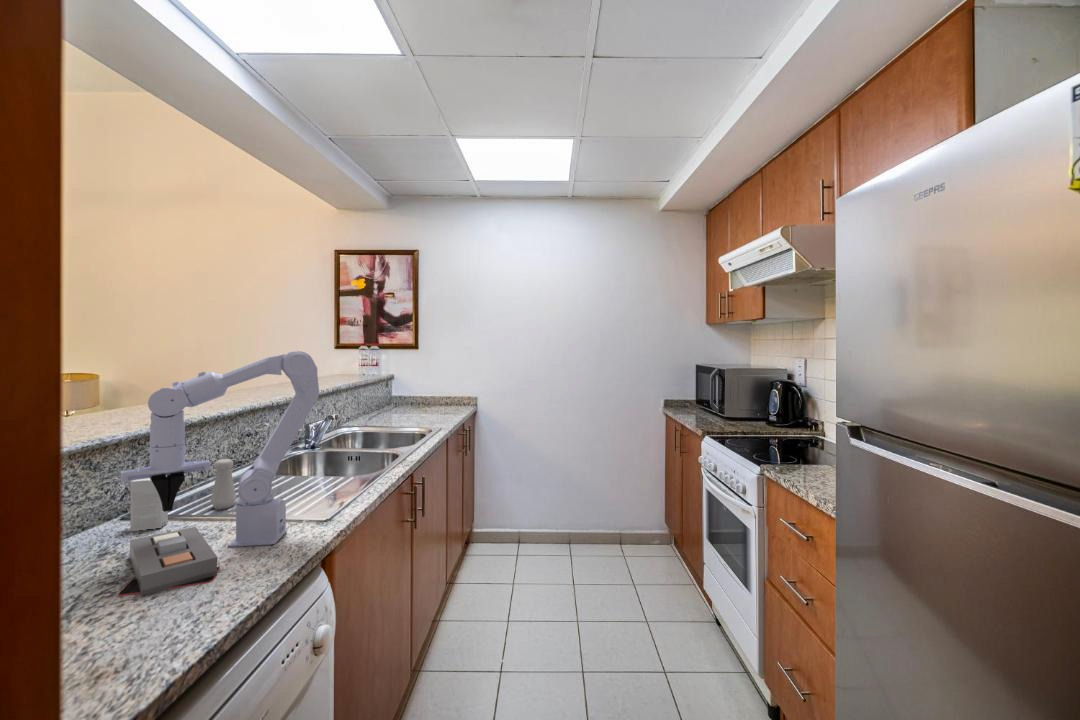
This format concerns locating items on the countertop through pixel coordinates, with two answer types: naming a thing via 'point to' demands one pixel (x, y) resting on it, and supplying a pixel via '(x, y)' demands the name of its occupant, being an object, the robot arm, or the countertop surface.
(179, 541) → the key slate
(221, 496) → the salt shaker
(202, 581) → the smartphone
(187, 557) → the key terracotta
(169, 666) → the countertop surface
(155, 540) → the key cream
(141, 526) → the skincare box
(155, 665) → the countertop surface
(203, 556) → the slotted grey tray
